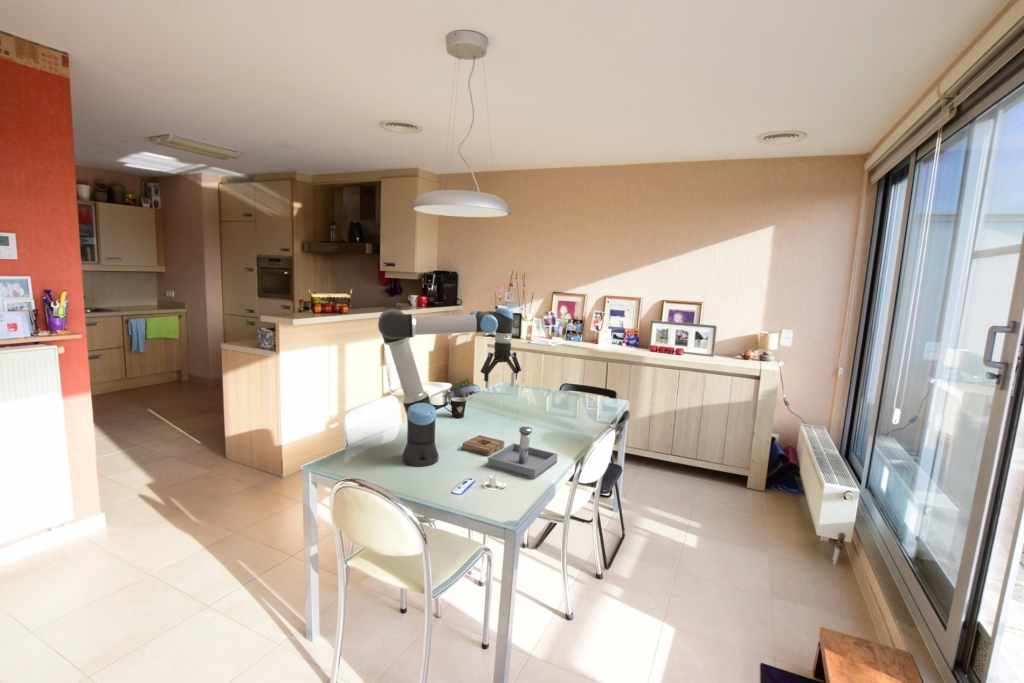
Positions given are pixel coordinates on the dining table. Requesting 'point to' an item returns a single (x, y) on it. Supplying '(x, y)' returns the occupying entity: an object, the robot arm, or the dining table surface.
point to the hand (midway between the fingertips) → (500, 387)
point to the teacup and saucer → (494, 483)
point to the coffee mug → (457, 407)
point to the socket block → (483, 445)
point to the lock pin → (524, 444)
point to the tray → (510, 463)
